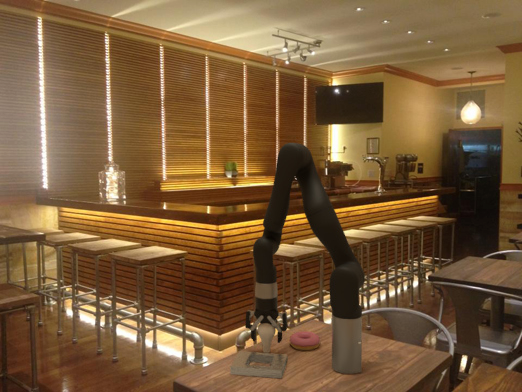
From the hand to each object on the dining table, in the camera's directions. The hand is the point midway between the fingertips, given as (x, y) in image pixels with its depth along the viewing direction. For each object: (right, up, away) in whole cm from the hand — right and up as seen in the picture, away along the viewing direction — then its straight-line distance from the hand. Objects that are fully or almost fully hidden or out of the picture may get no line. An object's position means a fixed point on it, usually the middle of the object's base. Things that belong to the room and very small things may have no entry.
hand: (266, 341), depth 163 cm
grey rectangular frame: (-2, -5, -11) cm, 13 cm away
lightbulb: (0, -4, 0) cm, 4 cm away
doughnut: (+14, -4, +7) cm, 16 cm away
